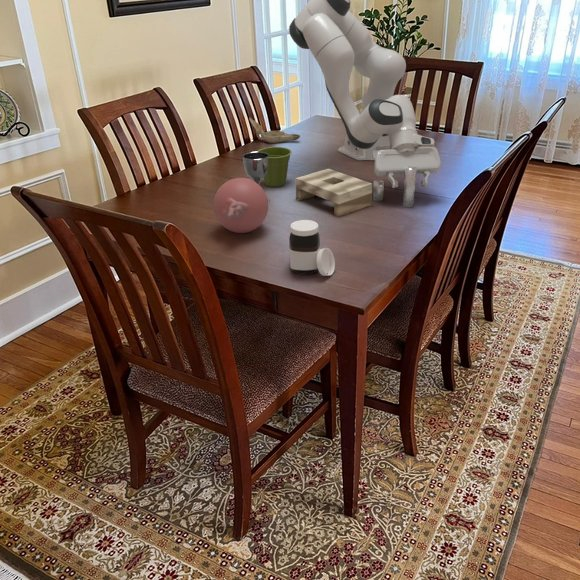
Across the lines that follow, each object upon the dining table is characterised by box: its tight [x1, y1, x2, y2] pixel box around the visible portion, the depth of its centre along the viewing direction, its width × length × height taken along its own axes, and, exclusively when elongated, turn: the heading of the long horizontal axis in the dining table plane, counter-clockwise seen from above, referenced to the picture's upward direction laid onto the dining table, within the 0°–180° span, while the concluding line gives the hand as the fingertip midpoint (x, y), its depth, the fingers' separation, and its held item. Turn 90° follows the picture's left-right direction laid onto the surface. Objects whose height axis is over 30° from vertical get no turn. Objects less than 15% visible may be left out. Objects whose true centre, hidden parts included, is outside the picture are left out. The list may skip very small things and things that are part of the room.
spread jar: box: [288, 219, 336, 277], centre depth 146 cm, size 12×11×12 cm
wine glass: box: [242, 151, 269, 186], centre depth 187 cm, size 8×8×15 cm
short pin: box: [372, 179, 385, 202], centre depth 188 cm, size 3×3×6 cm
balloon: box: [213, 177, 269, 234], centre depth 165 cm, size 15×20×15 cm
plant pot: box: [256, 146, 293, 187], centre depth 201 cm, size 12×12×11 cm
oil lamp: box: [248, 117, 301, 144], centre depth 247 cm, size 9×21×10 cm, turn 79°
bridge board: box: [295, 168, 373, 218], centre depth 186 cm, size 20×14×7 cm
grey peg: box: [402, 166, 417, 208], centre depth 181 cm, size 3×3×12 cm
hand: (409, 186), depth 180 cm, fingers open, 8 cm apart
